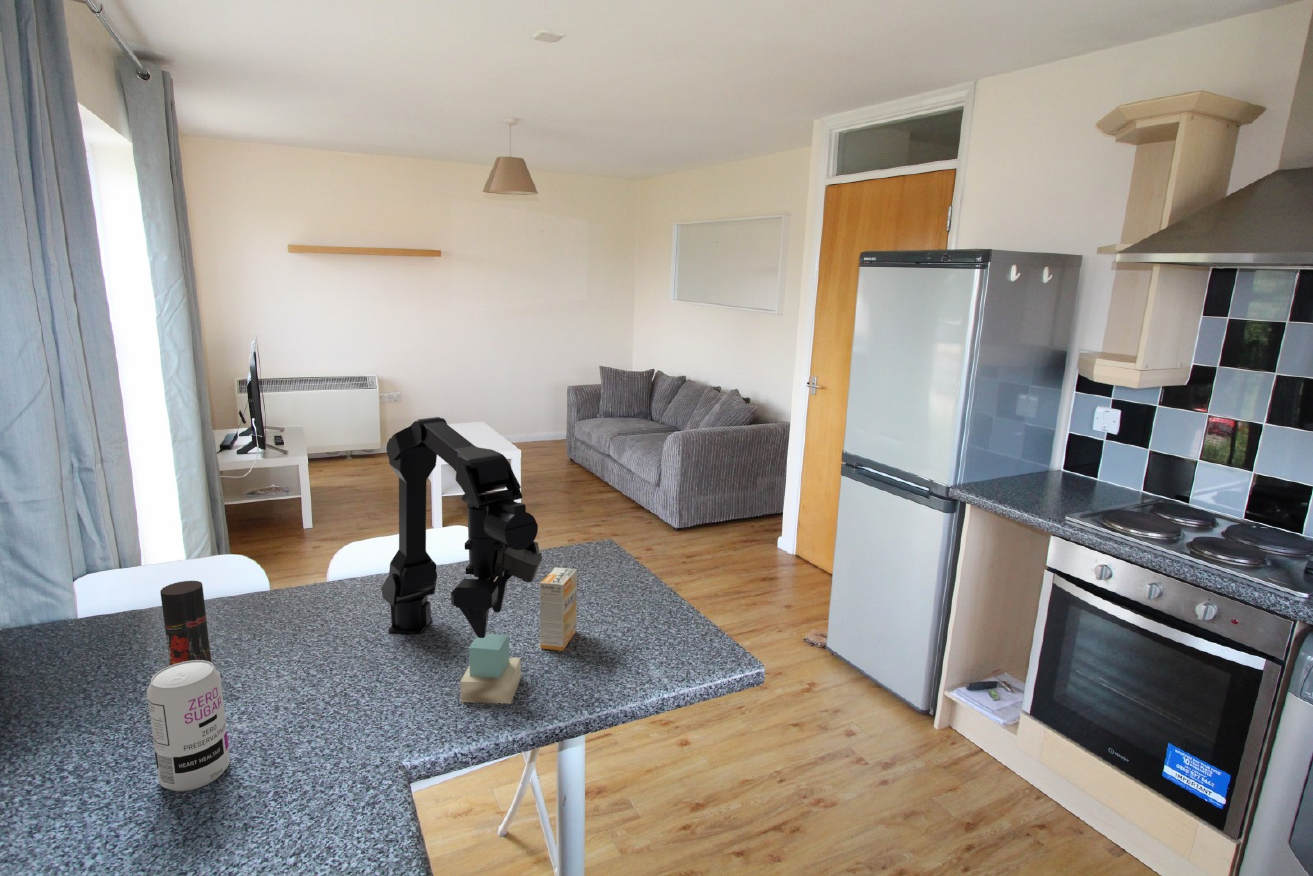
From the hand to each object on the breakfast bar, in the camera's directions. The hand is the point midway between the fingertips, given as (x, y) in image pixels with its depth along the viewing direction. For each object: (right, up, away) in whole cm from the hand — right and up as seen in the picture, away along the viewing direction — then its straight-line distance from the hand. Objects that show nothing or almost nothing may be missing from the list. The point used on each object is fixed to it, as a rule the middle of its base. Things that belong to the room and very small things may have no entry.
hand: (489, 624), depth 117 cm
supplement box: (+9, -8, +20) cm, 23 cm away
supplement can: (-36, -16, -19) cm, 43 cm away
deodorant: (-53, -10, +7) cm, 54 cm away
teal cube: (0, -8, +2) cm, 8 cm away
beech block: (0, -12, +3) cm, 12 cm away
